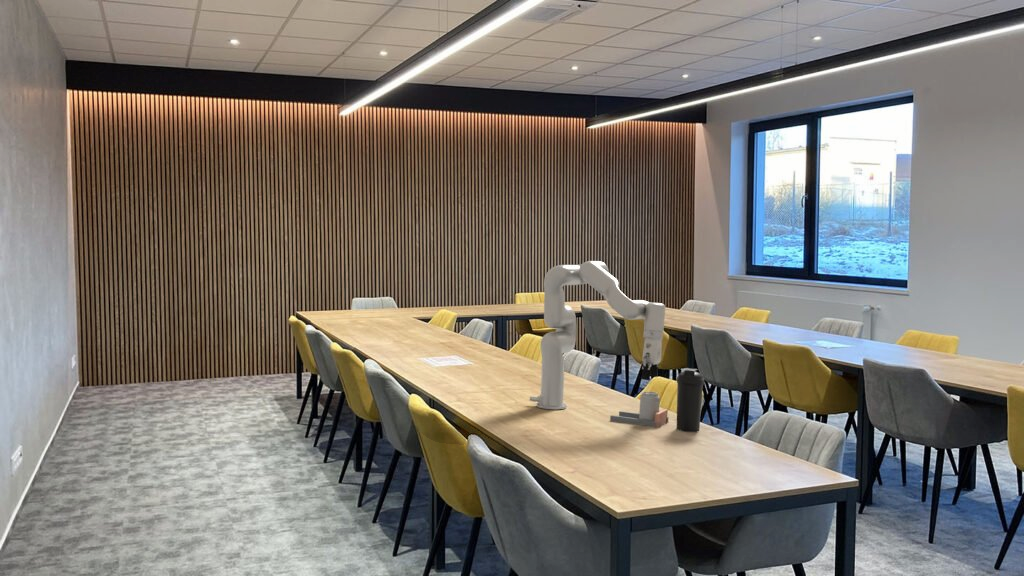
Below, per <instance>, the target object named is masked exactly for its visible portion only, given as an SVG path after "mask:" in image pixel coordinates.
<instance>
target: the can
mask: <svg viewBox="0 0 1024 576" xmlns="http://www.w3.org/2000/svg"><path fill="white" fill-rule="evenodd" d="M641 393H642V394H641V395H640V397H639V412H638V413H639V419H644V420H652V421H655V414H656V413H658V412H660V404H661V403H660V399H661V398H660V396H659V392H656V391H642V392H641Z"/></svg>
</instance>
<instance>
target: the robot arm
mask: <svg viewBox="0 0 1024 576" xmlns="http://www.w3.org/2000/svg"><path fill="white" fill-rule="evenodd" d="M609 271H610V270H609V267H608V266H607V265H606V263H605V262H603V261H601V260H588V261H584V262H583V263H580V264H559V265H555V266H552V268H550V269H549V270H548V271H547V273H546V274H545V276H544V279H543V290H544V292H543V293H544V299H543V300H544V301H543V302H544V303H543V308H544V309H543V320H544V324H545V326H546V327H547V328H549V329H555V331H549V332H547V333H545V334H544V335H543V336H542V337H541V339H540V354H541V379H540V381H541V382H540V394H539V395H537V396H529V401H530V402H535V403H536V402H537V403H536V407H537V408H540V409H544V410H554V411H555V410H564V409H567V407H568V406H567V404H566V403H564V391H565V390H564V389H565V359H564V355H563V354H566V353H570V352H571V351H573V350H574V349H575V346H576V341H577V338H576V337H577V317H576V313H575V310H574V309H573V308H572V307H571V306H570V305H567V304H565V299H566V298H565V297H566V296H565V291H564V289H563V287H564V286H578V285H587V284H588V285H589V286H591V287H592V288H593V289H595V291H597V292H598V294H600V295H601V296H602V297H604V300H605V301H606V302H607V305H609V306H610V307H611V309H613V311H615V312H616V313H617V314H619V315H620V316H621V317H622V318H624V319H626V320H629V321H632V320H633V321H634V320H644V326H643V338H644V343H643V351H642V359H641V360H642V367H641V378H640V379H641V380H645V381H650V380H651V377H655V378H657V377H658V371H659V364H660V363H661V362H662V349H663V348H662V345H663V344H662V343H663V341H662V340H663V339H664V329H665V318H666V317H665V316H666V305H665V304H664V303H660V302H650V301H648V300H643V299H635V300H634V299H633V300H632V299H630V298H629V297H628V296H626V295H625V294H624V293H623V292H622V290H620V288H619V280H618V279H617V278H616V277H614V276H613V275H612V274H611V273H610V272H609Z"/></svg>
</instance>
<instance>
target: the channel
mask: <svg viewBox="0 0 1024 576" xmlns="http://www.w3.org/2000/svg"><path fill="white" fill-rule="evenodd" d="M609 416H610V419H609V421H611V422H618V423H624V424H632V425H640V426H648V427H654V428H661V427H662V426H663V425H665V424H666V422H668V423H669V418H670V417H669V416H668V409H667V408H666V409H665V408H663V409H662V410H661V409H660V410H659V412H658V413H656V414H655V421H652V420H644V419H639V412H638V413H637V412H631V411H630V412H628V411H622V410H620V411H618V415H609ZM664 423H665V424H664Z"/></svg>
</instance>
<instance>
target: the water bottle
mask: <svg viewBox="0 0 1024 576" xmlns="http://www.w3.org/2000/svg"><path fill="white" fill-rule="evenodd" d="M698 370H699V368H698V369H697V368H689V367H687V368H685V369H684V371H681V372H680V373H679V374H678V375H677V376H676V384H677V385H676V386H677V387H676V388H677V389H676V391H677V392H676V393H677V394H676V396H677V397H676V430H678V431H681V432H685V433H697V431H698V432H699V431H700V427H701V426H700V425H701V412H702V404H703V403H702V402H703V401H702V400H703V399H702V398H703V389H704V387H703V386H704V384H705V378H704V376H703V374H701V373H700V372H697V371H698Z"/></svg>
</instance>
